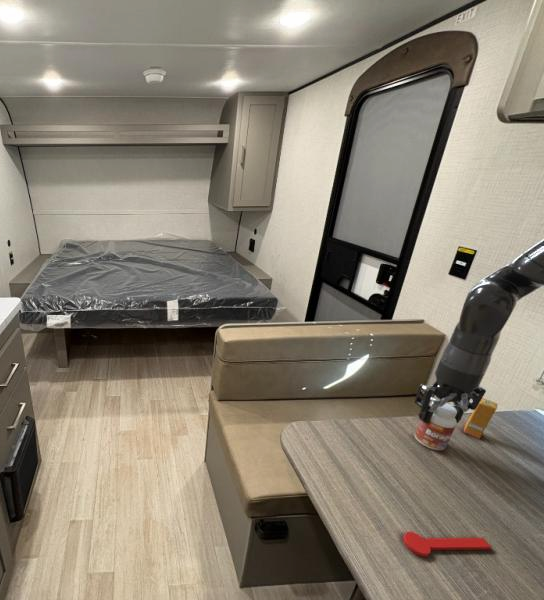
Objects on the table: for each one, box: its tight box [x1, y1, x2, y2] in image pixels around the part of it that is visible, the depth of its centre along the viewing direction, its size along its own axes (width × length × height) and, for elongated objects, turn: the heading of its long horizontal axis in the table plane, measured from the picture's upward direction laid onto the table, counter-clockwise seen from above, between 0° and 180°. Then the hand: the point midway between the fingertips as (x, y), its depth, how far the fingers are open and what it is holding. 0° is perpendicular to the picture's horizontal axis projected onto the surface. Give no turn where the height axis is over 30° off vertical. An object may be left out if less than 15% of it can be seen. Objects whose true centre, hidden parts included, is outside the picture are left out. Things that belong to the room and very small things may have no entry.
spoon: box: [402, 531, 492, 558], centre depth 58 cm, size 15×4×1 cm, turn 90°
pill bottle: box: [414, 401, 458, 451], centre depth 79 cm, size 6×6×11 cm
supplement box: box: [463, 397, 498, 439], centre depth 82 cm, size 3×3×10 cm
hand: (438, 420), depth 79 cm, fingers open, 6 cm apart
